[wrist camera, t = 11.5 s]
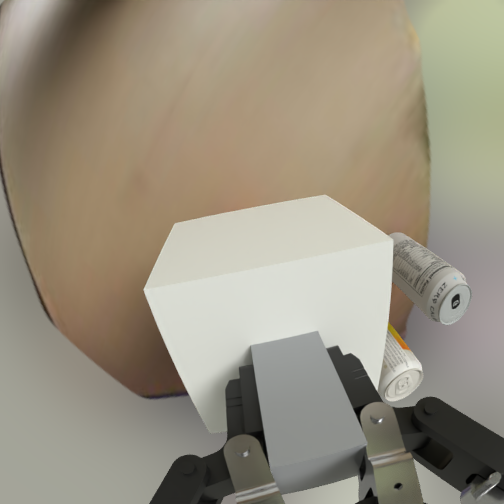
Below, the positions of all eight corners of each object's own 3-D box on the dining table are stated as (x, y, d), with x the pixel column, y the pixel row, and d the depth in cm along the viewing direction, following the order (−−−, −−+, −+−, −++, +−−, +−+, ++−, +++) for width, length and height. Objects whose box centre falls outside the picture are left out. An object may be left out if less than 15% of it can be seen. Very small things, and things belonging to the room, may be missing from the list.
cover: (174, 223, 19) (97, 412, 5) (325, 194, 19) (493, 318, 6) (210, 343, 23) (212, 521, 9) (333, 317, 23) (415, 472, 10)
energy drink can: (378, 277, 40) (436, 339, 26) (367, 242, 37) (432, 298, 23) (410, 258, 39) (475, 310, 25) (402, 223, 37) (475, 268, 23)
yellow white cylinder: (346, 339, 43) (384, 410, 29) (336, 312, 41) (379, 385, 27) (379, 321, 43) (426, 386, 29) (372, 293, 40) (425, 358, 27)
